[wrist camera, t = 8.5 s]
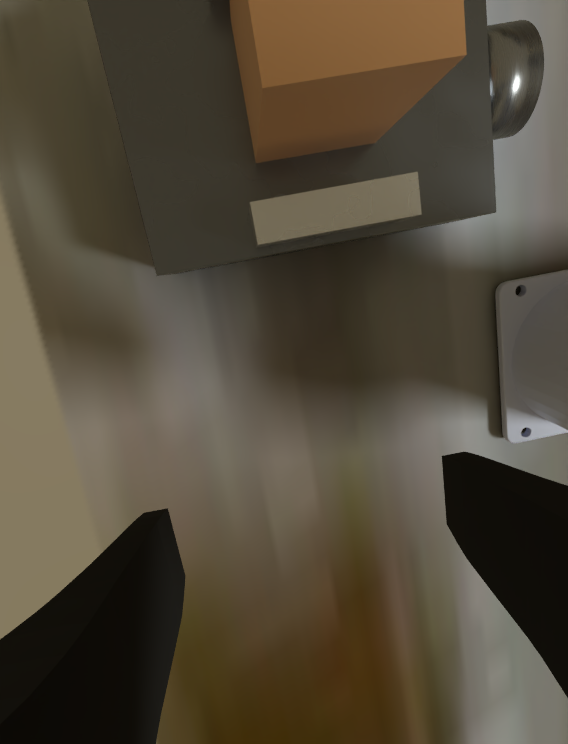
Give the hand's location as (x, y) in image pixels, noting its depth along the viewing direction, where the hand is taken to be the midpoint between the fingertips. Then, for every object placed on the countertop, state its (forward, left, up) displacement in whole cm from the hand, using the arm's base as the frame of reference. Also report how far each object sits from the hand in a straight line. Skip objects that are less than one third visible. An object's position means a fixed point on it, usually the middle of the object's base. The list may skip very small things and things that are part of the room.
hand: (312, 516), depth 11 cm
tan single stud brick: (-3, -12, -6) cm, 13 cm away
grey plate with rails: (-3, -11, -10) cm, 15 cm away
